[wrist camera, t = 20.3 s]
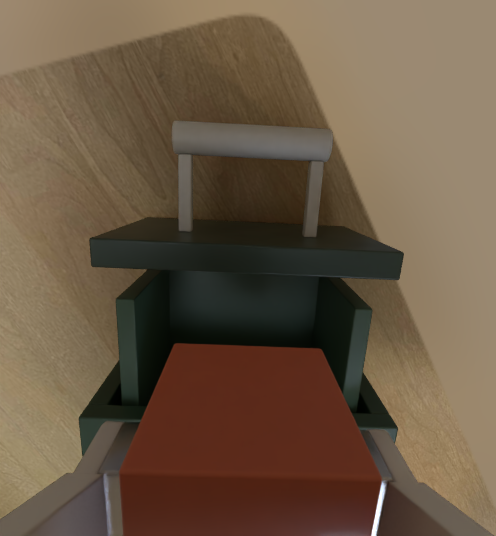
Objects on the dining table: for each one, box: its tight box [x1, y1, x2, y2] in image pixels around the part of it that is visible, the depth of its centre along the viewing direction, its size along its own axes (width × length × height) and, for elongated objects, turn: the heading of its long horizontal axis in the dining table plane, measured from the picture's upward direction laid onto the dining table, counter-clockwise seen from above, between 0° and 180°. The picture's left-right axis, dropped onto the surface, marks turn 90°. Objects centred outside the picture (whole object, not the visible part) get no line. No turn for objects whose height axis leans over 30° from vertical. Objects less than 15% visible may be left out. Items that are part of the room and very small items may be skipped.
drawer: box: [89, 121, 404, 413], centre depth 18 cm, size 20×13×8 cm, turn 177°
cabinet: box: [79, 361, 398, 456], centre depth 20 cm, size 16×14×10 cm
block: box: [119, 343, 382, 536], centre depth 8 cm, size 4×4×4 cm
